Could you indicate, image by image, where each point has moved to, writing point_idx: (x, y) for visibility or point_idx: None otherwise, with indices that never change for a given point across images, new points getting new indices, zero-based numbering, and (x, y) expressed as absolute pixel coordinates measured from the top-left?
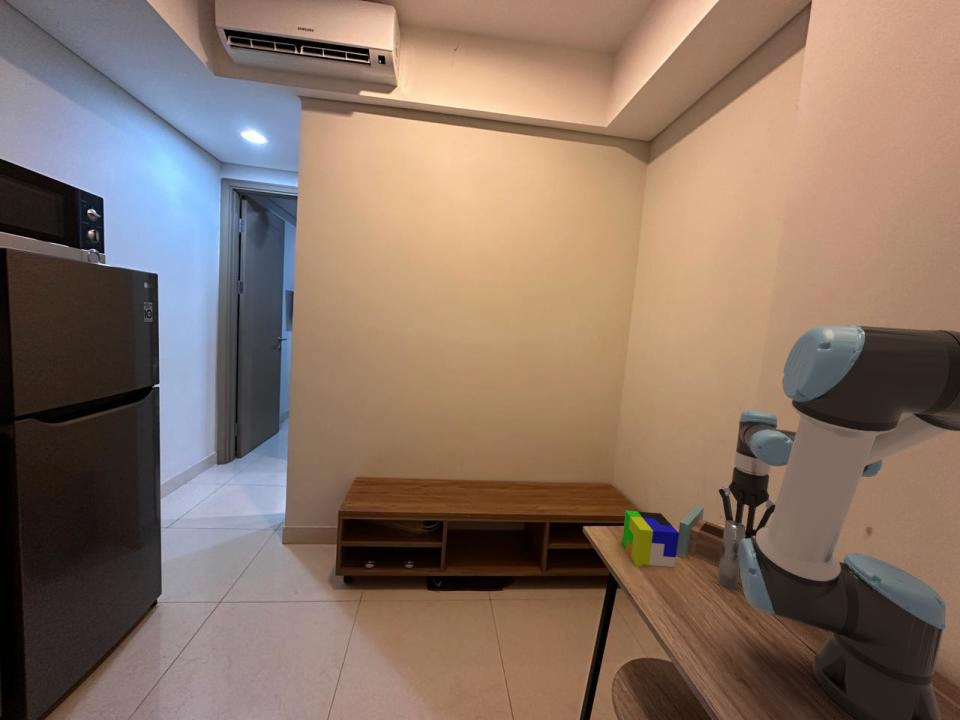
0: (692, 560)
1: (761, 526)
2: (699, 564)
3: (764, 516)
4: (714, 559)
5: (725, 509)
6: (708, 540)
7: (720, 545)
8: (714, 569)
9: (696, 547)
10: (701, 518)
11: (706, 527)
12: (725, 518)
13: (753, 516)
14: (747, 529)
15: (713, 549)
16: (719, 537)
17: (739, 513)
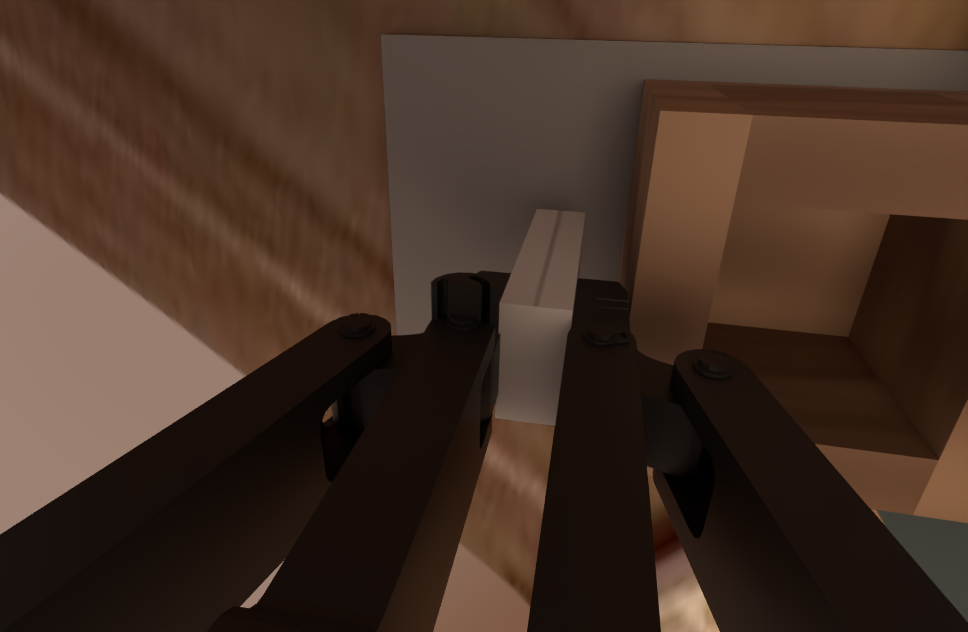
0: (924, 29)
1: (250, 403)
2: (857, 10)
3: (74, 552)
4: (748, 88)
5: (886, 569)
6: (894, 114)
7: (745, 109)
8: (726, 40)
9: (954, 98)
10: (945, 566)
11: (893, 428)
12: (796, 423)
13: (311, 519)
14: (463, 352)
15: (795, 99)
16: None
17: (582, 533)
